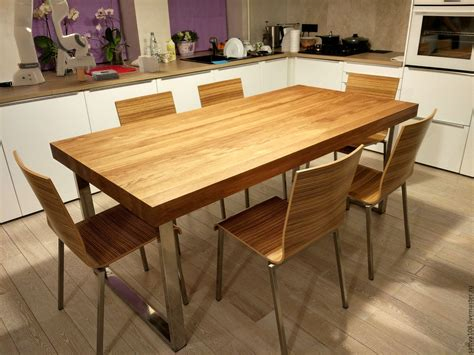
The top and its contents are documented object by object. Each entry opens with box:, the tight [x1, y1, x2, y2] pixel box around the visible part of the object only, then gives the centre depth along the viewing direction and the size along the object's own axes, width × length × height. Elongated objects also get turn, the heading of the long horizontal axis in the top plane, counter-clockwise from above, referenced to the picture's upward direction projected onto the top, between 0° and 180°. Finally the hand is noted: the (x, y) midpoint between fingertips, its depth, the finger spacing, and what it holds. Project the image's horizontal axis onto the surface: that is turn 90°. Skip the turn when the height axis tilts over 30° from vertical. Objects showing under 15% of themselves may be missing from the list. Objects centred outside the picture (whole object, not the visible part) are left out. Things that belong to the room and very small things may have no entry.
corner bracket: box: [137, 54, 160, 73], centre depth 318 cm, size 11×11×12 cm
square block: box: [76, 69, 86, 82], centre depth 289 cm, size 4×4×8 cm
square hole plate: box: [91, 69, 120, 81], centre depth 298 cm, size 16×16×4 cm
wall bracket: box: [56, 48, 72, 77], centre depth 324 cm, size 22×4×30 cm
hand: (81, 72), depth 289 cm, fingers open, 8 cm apart
